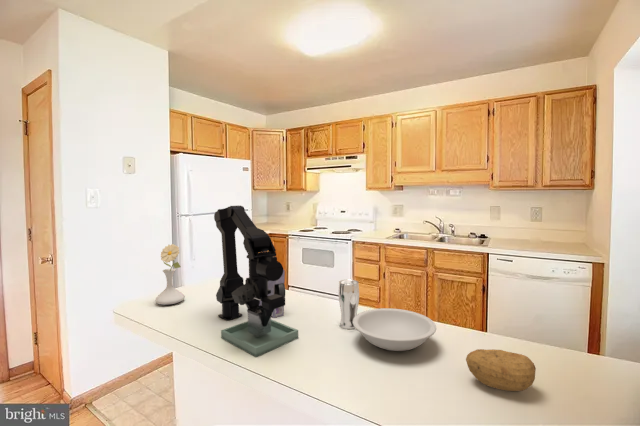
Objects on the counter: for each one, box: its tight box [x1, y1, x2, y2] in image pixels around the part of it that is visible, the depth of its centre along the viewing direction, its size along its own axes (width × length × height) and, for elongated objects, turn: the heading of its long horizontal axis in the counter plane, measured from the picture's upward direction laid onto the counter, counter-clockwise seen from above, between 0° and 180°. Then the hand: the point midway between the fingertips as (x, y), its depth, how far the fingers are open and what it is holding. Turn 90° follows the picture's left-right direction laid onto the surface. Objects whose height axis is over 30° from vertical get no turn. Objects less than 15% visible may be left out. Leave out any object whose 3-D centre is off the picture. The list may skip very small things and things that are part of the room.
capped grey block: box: [246, 305, 272, 337], centre depth 100 cm, size 5×5×7 cm
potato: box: [465, 348, 537, 392], centre depth 74 cm, size 10×14×8 cm
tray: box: [220, 319, 299, 358], centre depth 100 cm, size 18×16×2 cm
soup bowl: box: [353, 307, 437, 352], centre depth 95 cm, size 24×24×7 cm
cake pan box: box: [259, 269, 286, 319], centre depth 124 cm, size 19×5×18 cm, turn 38°
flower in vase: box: [154, 243, 186, 306], centre depth 134 cm, size 13×11×25 cm
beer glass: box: [338, 279, 360, 330], centre depth 109 cm, size 7×7×15 cm
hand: (259, 323), depth 100 cm, fingers closed on capped grey block, 5 cm apart
